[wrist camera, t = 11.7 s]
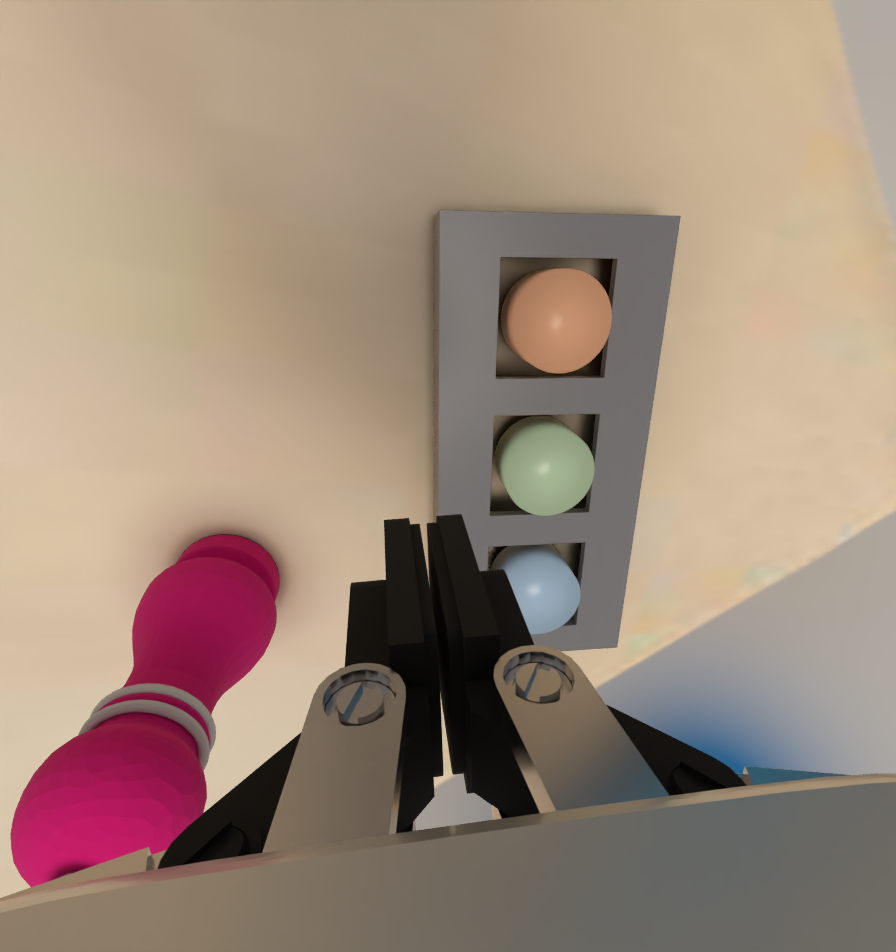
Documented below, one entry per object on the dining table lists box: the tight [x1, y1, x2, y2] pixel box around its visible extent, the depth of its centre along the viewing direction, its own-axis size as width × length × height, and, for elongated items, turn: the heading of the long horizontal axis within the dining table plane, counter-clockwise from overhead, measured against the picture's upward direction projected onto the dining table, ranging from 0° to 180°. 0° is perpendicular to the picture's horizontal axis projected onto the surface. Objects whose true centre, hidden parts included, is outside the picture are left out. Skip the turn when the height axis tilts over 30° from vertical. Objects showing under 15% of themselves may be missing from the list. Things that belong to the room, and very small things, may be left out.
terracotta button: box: [501, 268, 612, 373], centre depth 28 cm, size 5×5×3 cm
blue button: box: [490, 544, 581, 634], centre depth 34 cm, size 5×5×3 cm
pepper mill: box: [11, 535, 279, 887], centre depth 25 cm, size 7×7×20 cm
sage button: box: [495, 416, 595, 516], centre depth 31 cm, size 5×5×3 cm
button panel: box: [434, 210, 681, 651], centre depth 32 cm, size 26×12×3 cm, turn 179°
